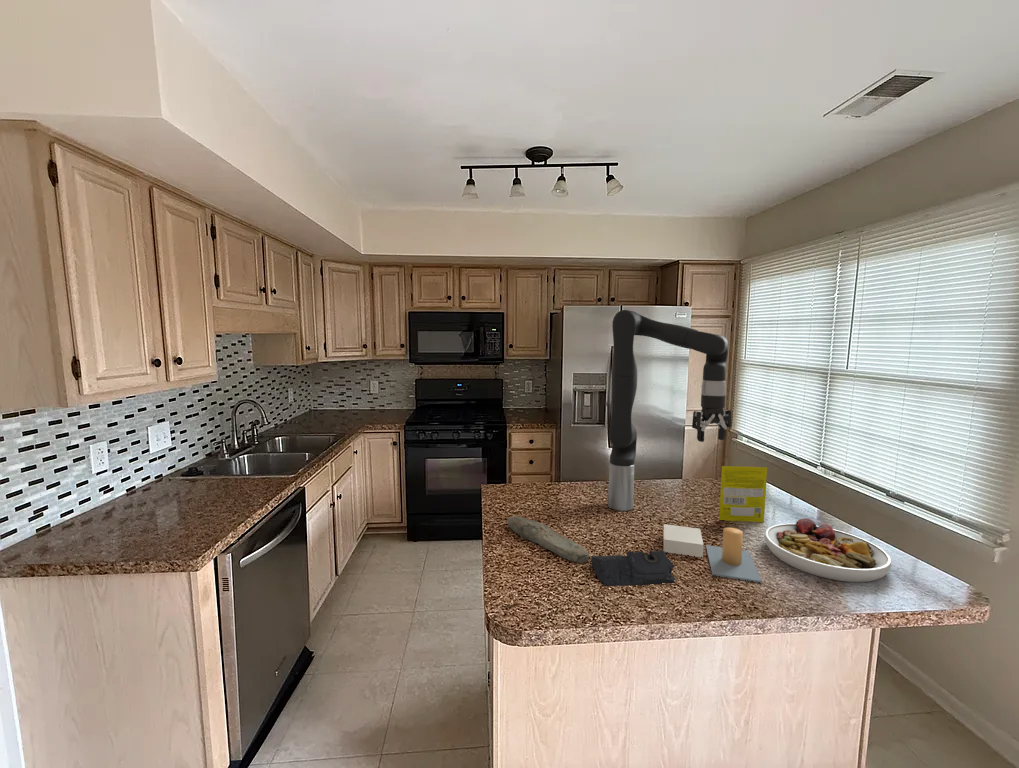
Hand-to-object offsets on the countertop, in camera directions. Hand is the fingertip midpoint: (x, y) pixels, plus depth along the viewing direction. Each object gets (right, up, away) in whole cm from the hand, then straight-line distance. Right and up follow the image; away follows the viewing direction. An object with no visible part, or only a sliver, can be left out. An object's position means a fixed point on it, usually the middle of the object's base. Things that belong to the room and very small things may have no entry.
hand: (711, 440), depth 151 cm
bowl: (+23, -33, -21) cm, 45 cm away
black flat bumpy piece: (-35, -33, -28) cm, 56 cm away
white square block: (-15, -31, -13) cm, 37 cm away
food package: (+14, -30, +6) cm, 34 cm away
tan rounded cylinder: (-5, -32, -24) cm, 40 cm away
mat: (-5, -32, -24) cm, 41 cm away
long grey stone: (-58, -31, -10) cm, 67 cm away
